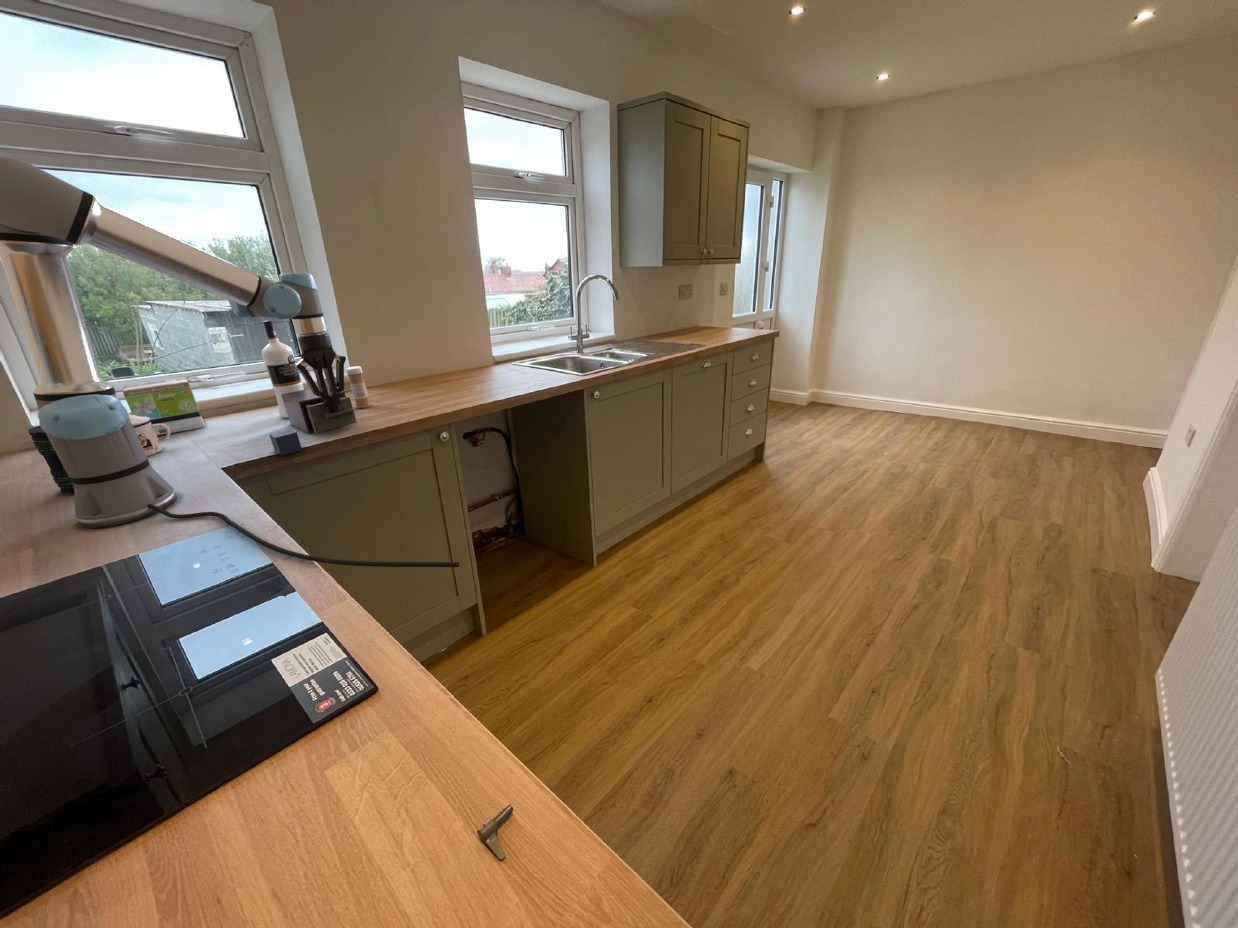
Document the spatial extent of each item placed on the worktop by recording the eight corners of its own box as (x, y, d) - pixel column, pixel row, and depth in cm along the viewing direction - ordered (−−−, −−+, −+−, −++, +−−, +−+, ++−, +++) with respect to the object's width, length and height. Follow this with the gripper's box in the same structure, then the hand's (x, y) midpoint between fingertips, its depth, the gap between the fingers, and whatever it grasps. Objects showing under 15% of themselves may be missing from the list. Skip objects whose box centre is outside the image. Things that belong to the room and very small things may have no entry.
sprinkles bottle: (372, 404, 172) (362, 365, 166) (369, 408, 168) (359, 368, 162) (358, 405, 171) (347, 366, 166) (354, 409, 167) (344, 369, 162)
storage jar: (74, 481, 120) (43, 422, 114) (126, 473, 123) (98, 415, 117) (51, 498, 111) (15, 435, 105) (107, 489, 115) (76, 427, 109)
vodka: (295, 410, 169) (266, 318, 158) (319, 410, 168) (292, 318, 156) (273, 418, 161) (241, 323, 149) (298, 419, 159) (267, 322, 147)
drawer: (364, 425, 147) (357, 399, 144) (323, 436, 139) (315, 409, 136) (338, 415, 159) (331, 391, 155) (298, 424, 151) (291, 399, 148)
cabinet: (352, 422, 154) (344, 391, 150) (308, 433, 145) (298, 401, 142) (333, 414, 163) (325, 385, 159) (290, 424, 154) (281, 394, 150)
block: (302, 449, 133) (296, 432, 131) (281, 455, 130) (275, 437, 128) (295, 446, 136) (289, 428, 134) (274, 451, 133) (268, 434, 131)
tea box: (142, 440, 147) (120, 391, 141) (143, 432, 154) (121, 385, 148) (206, 427, 156) (187, 380, 150) (203, 420, 163) (186, 375, 157)
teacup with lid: (116, 463, 130) (95, 420, 125) (123, 453, 137) (104, 412, 132) (174, 451, 136) (157, 410, 131) (178, 442, 143) (162, 403, 138)
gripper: (332, 329, 141) (353, 409, 151) (280, 336, 132) (307, 421, 142) (343, 331, 137) (364, 413, 146) (291, 338, 128) (317, 426, 137)
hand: (336, 417), depth 144 cm, fingers closed
